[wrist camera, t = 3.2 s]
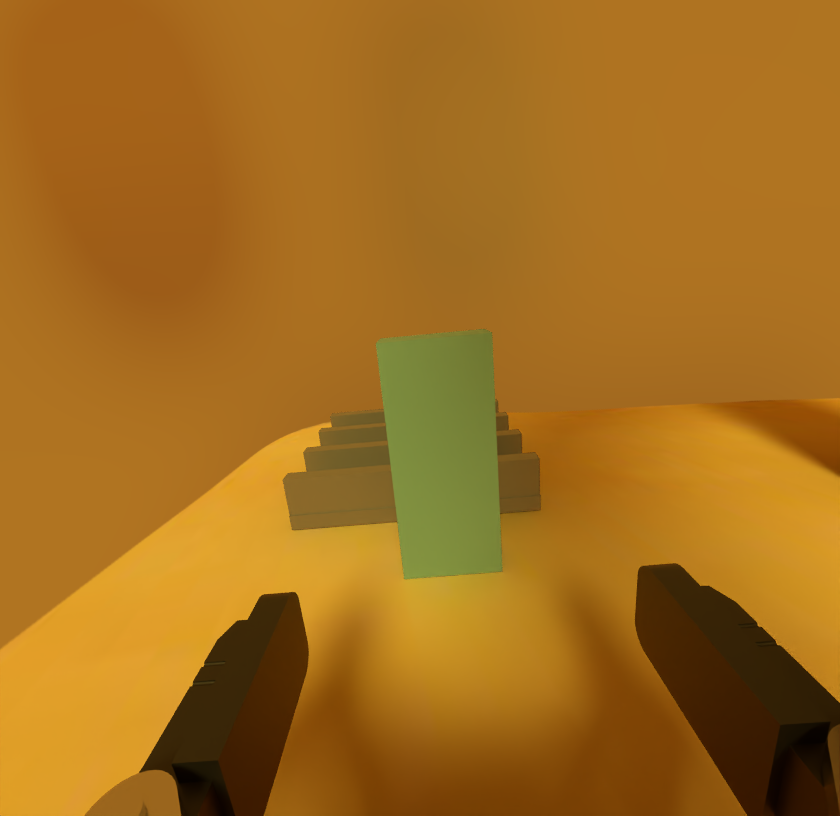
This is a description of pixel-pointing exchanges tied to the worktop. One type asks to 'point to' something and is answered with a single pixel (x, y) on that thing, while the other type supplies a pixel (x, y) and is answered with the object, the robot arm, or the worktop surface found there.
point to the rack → (386, 474)
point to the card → (443, 451)
